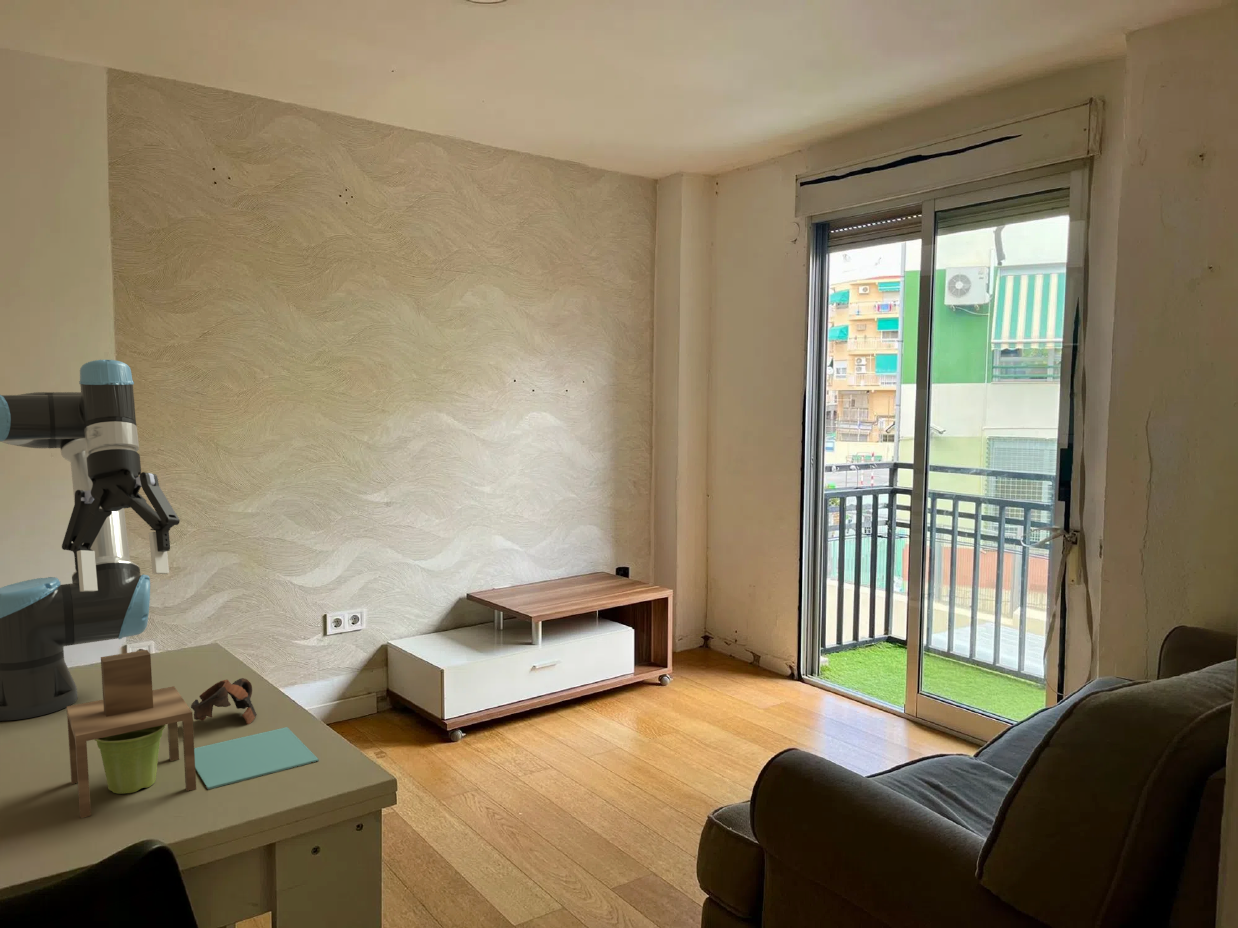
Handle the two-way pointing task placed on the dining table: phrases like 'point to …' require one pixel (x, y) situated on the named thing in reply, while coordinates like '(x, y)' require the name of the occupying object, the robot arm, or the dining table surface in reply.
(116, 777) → the plant pot
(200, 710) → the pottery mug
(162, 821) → the dining table surface
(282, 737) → the teal mat
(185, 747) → the brown piece
